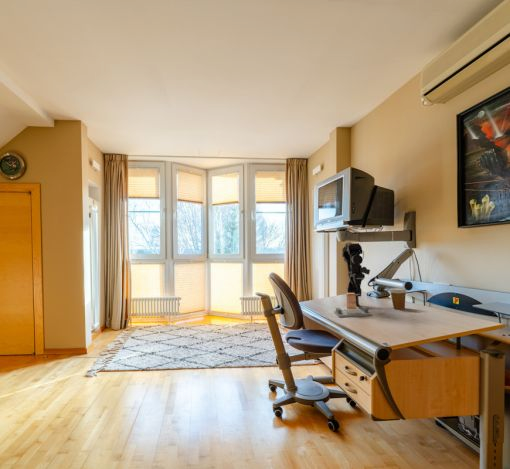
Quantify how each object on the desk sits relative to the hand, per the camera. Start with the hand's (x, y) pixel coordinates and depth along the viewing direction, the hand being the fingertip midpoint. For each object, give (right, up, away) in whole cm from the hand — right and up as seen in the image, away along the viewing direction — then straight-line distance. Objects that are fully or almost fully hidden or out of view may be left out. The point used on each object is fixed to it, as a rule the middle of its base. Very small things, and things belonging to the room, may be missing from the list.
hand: (356, 288), depth 220 cm
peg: (-7, -12, -13) cm, 19 cm away
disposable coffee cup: (+24, -12, -4) cm, 27 cm away
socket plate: (-7, -13, -13) cm, 19 cm away
